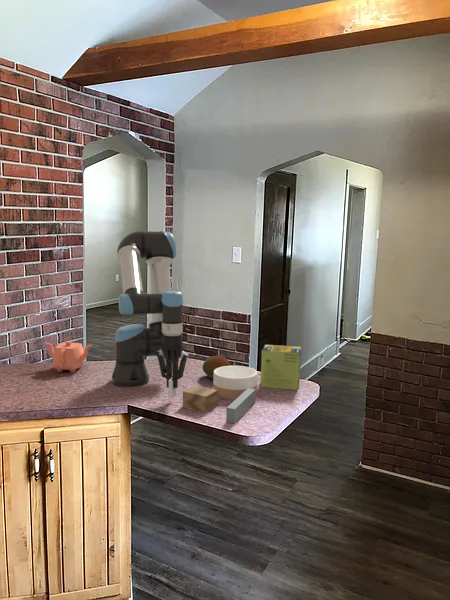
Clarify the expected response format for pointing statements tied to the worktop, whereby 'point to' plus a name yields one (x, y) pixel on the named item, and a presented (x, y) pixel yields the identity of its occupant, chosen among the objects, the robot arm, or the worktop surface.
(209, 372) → the fruit
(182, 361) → the robot arm
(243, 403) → the grey long rectangular bar
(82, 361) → the teapot
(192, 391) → the walnut block
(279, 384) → the protein box
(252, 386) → the bowl
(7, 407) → the worktop surface
